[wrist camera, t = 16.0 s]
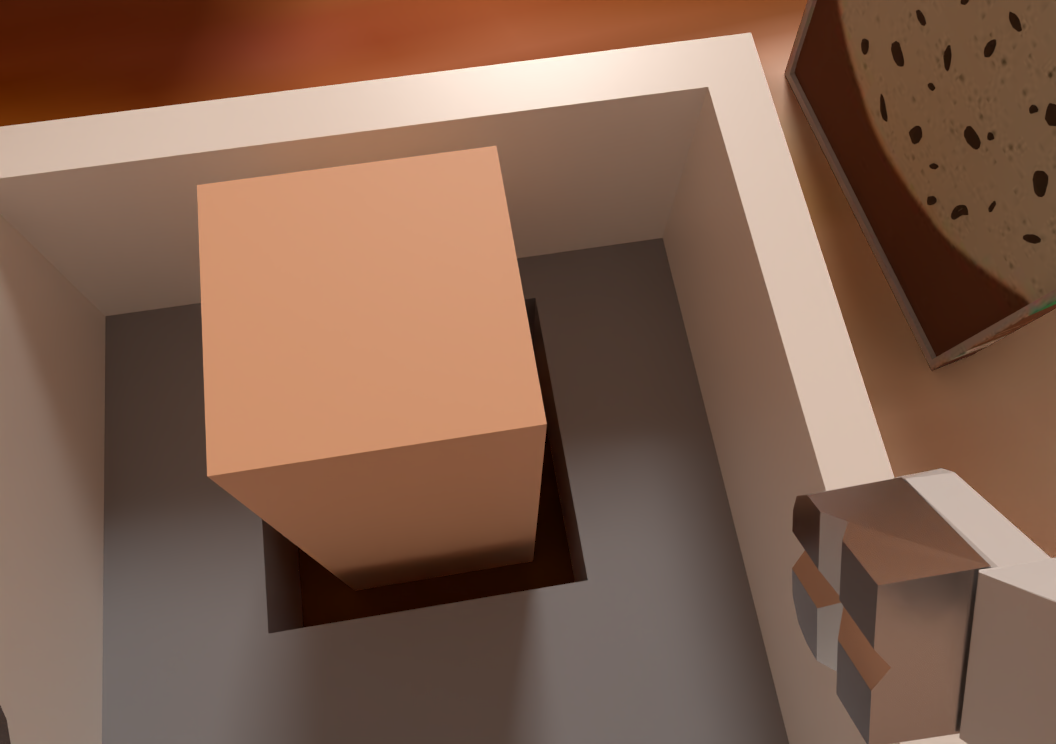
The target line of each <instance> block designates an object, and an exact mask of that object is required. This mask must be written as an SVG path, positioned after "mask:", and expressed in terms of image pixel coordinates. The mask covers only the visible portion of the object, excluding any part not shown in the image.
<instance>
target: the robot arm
mask: <svg viewBox="0 0 1056 744" xmlns="http://www.w3.org/2000/svg"><path fill="white" fill-rule="evenodd" d="M792 532H793V533H794V535H795V536H796V538H797V539H798V541H799V542H800V543H801V545H802V546H803V548H804V549H805V551H804V552H803V554H802V555H801V556H800V558H799V559H798V560H797V562H796V563H795V565H794V566H793V567H792V591H793V600H794V605H795V609H796V614H797V619H798V623H799V626H800V628H801V631H802V633H803V636H804V638H805V641H806V643H807V645H808V646H809V648H810V650H811V652H812V653H813V655H814V657H815V659H816V660H817V661H818V662H820V663H822V664H824V665H826V666H828V667H829V668H831V669H833V670H835V671H837V687H836V694H837V696H838V697H839V699H840V701H841V702H842V704H843V706H844V707H845V709H846V711H847V712H848V714H849V716H850V717H851V719H852V720H853V722H854V724H855V725H856V727H857V729H858V730H859V732H860V734H861V735H862V737H863V739H864V740H865V742H866V744H892V743H899V742H906V741H912V740H919V739H926V738H932V737H939V736H946V735H952V734H959V733H960V735H959V738H960V739H961V740H963V741H964V742H966V743H967V744H1056V557H1055V558H1051V557H1049V556H1048V555H1047V554H1046V553H1045V552H1044V551H1043V550H1042V549H1040V548H1039V547H1038V546H1037V545H1036V544H1035V543H1034V542H1033V541H1031V540H1030V539H1029V538H1028V537H1027V536H1026V535H1025V534H1024V533H1022V532H1021V531H1020V530H1019V529H1018V528H1017V527H1016V526H1015V525H1013V524H1012V523H1011V522H1010V521H1009V520H1008V519H1007V518H1006V517H1004V516H1003V515H1002V514H1001V513H1000V512H999V511H998V510H996V509H995V508H994V507H993V506H992V505H991V504H990V503H989V502H987V501H986V500H985V499H984V498H983V497H982V496H981V495H980V494H978V493H977V492H976V491H975V490H974V489H973V488H972V487H971V486H969V485H968V484H967V483H966V482H965V481H964V480H963V479H962V478H960V477H959V476H958V475H957V474H956V473H955V472H953V471H949V470H946V469H943V468H940V469H935V470H930V471H925V472H920V473H915V474H910V475H905V476H900V477H894V478H893V479H889V480H883V481H878V482H872V483H866V484H861V485H855V486H849V487H844V488H838V489H833V490H827V491H821V492H816V493H810V494H805V495H799V496H797V497H796V501H795V504H794V508H793V525H792ZM0 744H11V743H10V736H9V730H8V724H7V719H6V717H5V715H4V712H3V710H2V708H1V706H0Z"/></svg>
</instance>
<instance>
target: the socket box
mask: <svg viewBox="0 0 1056 744" xmlns="http://www.w3.org/2000/svg"><path fill="white" fill-rule="evenodd" d="M490 146H497V152H498V157H499V163H500V168H501V174H502V179H503V185H504V190H505V196H506V201H507V207H508V212H509V218H510V223H511V229H512V234H513V240H514V245H515V251H516V256H517V262H518V267H519V273H520V278H521V284H522V289H523V295H524V301H525V306H526V312H527V317H528V323H529V328H530V334H531V339H532V345H533V350H534V356H535V361H536V367H537V372H538V378H539V383H540V389H541V394H542V400H543V405H544V411H545V416H546V422H547V431H548V437H549V442H550V448H551V453H552V459H553V464H554V470H555V475H556V481H557V487H558V492H559V498H560V503H561V509H562V514H563V520H564V525H565V531H566V536H567V542H568V547H569V553H570V559H571V564H572V570H573V575H574V581H575V583H569V584H563V585H557V586H551V587H545V588H539V589H533V590H527V591H521V592H515V593H509V594H503V595H497V596H491V597H485V598H479V599H473V600H467V601H461V602H455V603H449V604H443V605H437V606H431V607H425V608H419V609H413V610H407V611H401V612H395V613H389V614H383V615H377V616H371V617H365V618H359V619H353V620H347V621H341V622H335V623H329V624H323V625H317V626H311V627H305V628H304V626H303V612H302V597H301V583H300V569H299V555H298V546H296V545H295V544H294V543H292V542H291V541H290V540H289V539H287V538H286V537H285V536H283V535H282V534H281V533H280V532H278V531H277V530H276V529H274V528H273V527H272V526H271V525H269V524H268V523H267V522H265V521H264V520H263V519H262V518H260V517H259V516H258V515H256V514H255V513H254V512H252V511H251V510H250V509H249V508H247V507H246V506H245V505H243V504H242V503H241V502H240V501H238V500H237V499H236V498H234V497H233V496H232V495H231V494H229V493H228V492H227V491H225V490H224V489H223V488H222V487H220V486H219V485H218V484H216V483H215V482H214V481H213V480H211V479H210V478H209V477H207V457H206V429H205V400H204V372H203V344H202V315H201V287H200V259H199V230H198V202H197V185H201V184H209V183H216V182H224V181H231V180H239V179H247V178H254V177H262V176H269V175H277V174H285V173H292V172H300V171H307V170H315V169H323V168H330V167H338V166H345V165H353V164H361V163H368V162H376V161H383V160H391V159H399V158H406V157H414V156H421V155H429V154H437V153H444V152H452V151H459V150H467V149H475V148H482V147H490ZM893 478H894V475H893V472H892V468H891V465H890V462H889V459H888V456H887V453H886V450H885V447H884V444H883V440H882V437H881V434H880V431H879V428H878V425H877V422H876V419H875V416H874V413H873V409H872V406H871V403H870V400H869V397H868V394H867V391H866V388H865V385H864V382H863V378H862V375H861V372H860V369H859V366H858V363H857V360H856V357H855V354H854V351H853V347H852V344H851V341H850V338H849V335H848V332H847V329H846V326H845V323H844V320H843V316H842V313H841V310H840V307H839V304H838V301H837V298H836V295H835V292H834V288H833V285H832V282H831V279H830V276H829V273H828V270H827V267H826V264H825V261H824V257H823V254H822V251H821V248H820V245H819V242H818V239H817V236H816V233H815V230H814V226H813V223H812V220H811V217H810V214H809V211H808V208H807V205H806V202H805V199H804V195H803V192H802V189H801V186H800V183H799V180H798V177H797V174H796V171H795V168H794V164H793V161H792V158H791V155H790V152H789V149H788V146H787V143H786V140H785V136H784V133H783V130H782V127H781V124H780V121H779V118H778V115H777V112H776V109H775V105H774V102H773V99H772V96H771V93H770V90H769V87H768V84H767V81H766V78H765V74H764V71H763V68H762V65H761V62H760V59H759V56H758V53H757V50H756V47H755V43H754V40H753V37H752V34H751V33H745V34H737V35H729V36H721V37H713V38H705V39H697V40H689V41H681V42H673V43H665V44H657V45H649V46H641V47H633V48H625V49H617V50H609V51H601V52H593V53H585V54H577V55H569V56H561V57H553V58H545V59H537V60H529V61H521V62H513V63H505V64H497V65H489V66H481V67H473V68H465V69H457V70H449V71H441V72H433V73H425V74H417V75H409V76H401V77H393V78H385V79H377V80H369V81H361V82H353V83H345V84H337V85H329V86H321V87H313V88H305V89H297V90H289V91H281V92H273V93H265V94H257V95H249V96H241V97H233V98H226V99H218V100H210V101H202V102H194V103H186V104H178V105H170V106H162V107H154V108H146V109H138V110H130V111H122V112H114V113H106V114H98V115H90V116H82V117H74V118H66V119H58V120H50V121H42V122H34V123H26V124H18V125H10V126H2V127H0V706H1V708H2V710H3V712H4V715H5V717H6V719H7V724H8V730H9V736H10V743H11V744H866V742H865V740H864V739H863V737H862V735H861V734H860V732H859V730H858V729H857V727H856V725H855V724H854V722H853V720H852V719H851V717H850V716H849V714H848V712H847V711H846V709H845V707H844V706H843V704H842V702H841V701H840V699H839V697H838V696H837V694H836V687H837V671H835V670H833V669H831V668H829V667H828V666H826V665H824V664H822V663H820V662H818V661H817V660H816V659H815V657H814V655H813V653H812V652H811V650H810V648H809V646H808V645H807V643H806V641H805V638H804V636H803V633H802V631H801V628H800V626H799V623H798V619H797V614H796V609H795V605H794V600H793V591H792V567H793V566H794V565H795V563H796V562H797V560H798V559H799V558H800V556H801V555H802V554H803V552H804V551H805V549H804V548H803V546H802V545H801V543H800V542H799V541H798V539H797V538H796V536H795V535H794V533H793V532H792V525H793V508H794V504H795V501H796V497H797V496H799V495H805V494H810V493H816V492H821V491H827V490H833V489H838V488H844V487H849V486H855V485H861V484H866V483H872V482H878V481H883V480H889V479H893ZM959 735H960V733H959V734H952V735H946V736H939V737H932V738H926V739H919V740H912V741H906V742H899V743H892V744H967V743H966V742H964V741H963V740H961V739H960V738H959Z"/></svg>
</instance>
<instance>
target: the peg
mask: <svg viewBox="0 0 1056 744" xmlns="http://www.w3.org/2000/svg"><path fill="white" fill-rule="evenodd" d="M197 202H198V230H199V259H200V287H201V315H202V344H203V372H204V400H205V429H206V457H207V477H209V478H210V479H211V480H213V481H214V482H215V483H216V484H218V485H219V486H220V487H222V488H223V489H224V490H225V491H227V492H228V493H229V494H231V495H232V496H233V497H234V498H236V499H237V500H238V501H240V502H241V503H242V504H243V505H245V506H246V507H247V508H249V509H250V510H251V511H252V512H254V513H255V514H256V515H258V516H259V517H260V518H262V519H263V520H264V521H265V522H267V523H268V524H269V525H271V526H272V527H273V528H274V529H276V530H277V531H278V532H280V533H281V534H282V535H283V536H285V537H286V538H287V539H289V540H290V541H291V542H292V543H294V544H295V545H296V546H298V547H299V548H300V549H302V550H303V551H304V552H305V553H307V554H308V555H309V556H311V557H312V558H313V559H314V560H316V561H317V562H318V563H320V564H321V565H322V566H323V567H325V568H326V569H327V570H329V571H330V572H331V573H332V574H334V575H335V576H336V577H338V578H339V579H340V580H341V581H343V582H344V583H345V584H347V585H348V586H349V587H351V588H352V589H353V590H354V591H356V590H362V589H368V588H374V587H380V586H386V585H393V584H399V583H405V582H411V581H417V580H423V579H429V578H435V577H441V576H447V575H453V574H459V573H465V572H471V571H477V570H483V569H489V568H496V567H502V566H508V565H514V564H520V563H526V562H532V561H533V557H534V547H535V537H536V527H537V517H538V507H539V497H540V487H541V477H542V467H543V457H544V448H545V438H546V428H547V422H546V416H545V411H544V405H543V400H542V394H541V389H540V383H539V378H538V372H537V367H536V361H535V356H534V350H533V345H532V339H531V334H530V328H529V323H528V317H527V312H526V306H525V301H524V295H523V289H522V284H521V278H520V273H519V267H518V262H517V256H516V251H515V245H514V240H513V234H512V229H511V223H510V218H509V212H508V207H507V201H506V196H505V190H504V185H503V179H502V174H501V168H500V163H499V157H498V152H497V146H490V147H482V148H475V149H467V150H459V151H452V152H444V153H437V154H429V155H421V156H414V157H406V158H399V159H391V160H383V161H376V162H368V163H361V164H353V165H345V166H338V167H330V168H323V169H315V170H307V171H300V172H292V173H285V174H277V175H269V176H262V177H254V178H247V179H239V180H231V181H224V182H216V183H209V184H201V185H197Z"/></svg>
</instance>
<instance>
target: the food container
mask: <svg viewBox="0 0 1056 744" xmlns="http://www.w3.org/2000/svg"><path fill="white" fill-rule="evenodd" d="M784 74H785V76H786V78H787V80H788V82H789V84H790V86H791V88H792V90H793V92H794V94H795V96H796V98H797V100H798V102H799V104H800V106H801V108H802V110H803V112H804V114H805V116H806V118H807V120H808V122H809V124H810V126H811V128H812V130H813V132H814V134H815V136H816V138H817V140H818V142H819V144H820V146H821V148H822V150H823V152H824V154H825V156H826V158H827V160H828V162H829V164H830V166H831V168H832V171H833V173H834V175H835V177H836V179H837V181H838V183H839V185H840V187H841V189H842V191H843V193H844V195H845V197H846V199H847V201H848V203H849V205H850V207H851V209H852V211H853V213H854V215H855V217H856V219H857V221H858V223H859V225H860V227H861V229H862V231H863V233H864V235H865V237H866V239H867V241H868V243H869V245H870V247H871V249H872V251H873V253H874V255H875V257H876V259H877V261H878V263H879V265H880V267H881V269H882V271H883V273H884V275H885V277H886V279H887V281H888V284H889V286H890V288H891V290H892V292H893V294H894V296H895V298H896V300H897V302H898V304H899V306H900V308H901V310H902V312H903V314H904V316H905V318H906V320H907V322H908V324H909V326H910V328H911V330H912V332H913V334H914V336H915V338H916V340H917V342H918V344H919V346H920V348H921V350H922V352H923V354H924V356H925V358H926V360H927V362H928V364H929V366H930V368H931V370H935V369H937V368H940V367H942V366H945V365H947V364H950V363H953V362H955V361H958V360H960V359H963V358H965V357H968V356H970V355H973V354H975V353H976V352H978V351H980V350H982V349H984V348H985V347H987V346H989V345H991V344H992V343H994V342H996V341H998V340H1000V339H1001V338H1003V337H1005V336H1007V335H1009V334H1010V333H1012V332H1014V331H1016V330H1018V329H1019V328H1021V327H1023V326H1025V325H1027V324H1028V323H1030V322H1032V321H1034V320H1036V319H1037V318H1039V317H1041V316H1043V315H1045V314H1046V313H1048V312H1050V311H1052V310H1053V309H1055V308H1056V0H808V1H807V4H806V7H805V10H804V13H803V17H802V20H801V23H800V26H799V29H798V32H797V35H796V39H795V42H794V45H793V48H792V51H791V54H790V58H789V61H788V64H787V67H786V70H785V73H784Z"/></svg>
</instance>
